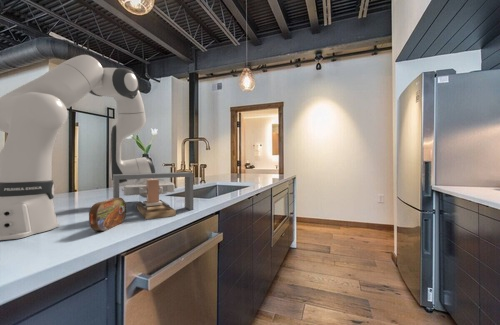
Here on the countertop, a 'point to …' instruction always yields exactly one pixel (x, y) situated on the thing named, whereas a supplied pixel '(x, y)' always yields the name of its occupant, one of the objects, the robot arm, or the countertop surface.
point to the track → (156, 210)
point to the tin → (107, 214)
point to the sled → (152, 193)
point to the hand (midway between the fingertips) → (153, 190)
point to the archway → (187, 176)
